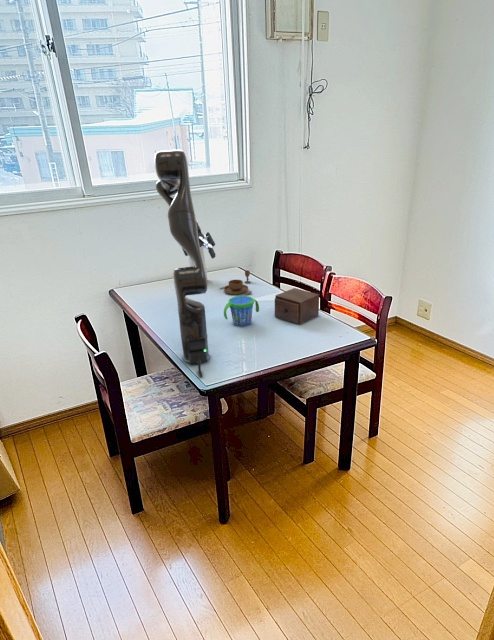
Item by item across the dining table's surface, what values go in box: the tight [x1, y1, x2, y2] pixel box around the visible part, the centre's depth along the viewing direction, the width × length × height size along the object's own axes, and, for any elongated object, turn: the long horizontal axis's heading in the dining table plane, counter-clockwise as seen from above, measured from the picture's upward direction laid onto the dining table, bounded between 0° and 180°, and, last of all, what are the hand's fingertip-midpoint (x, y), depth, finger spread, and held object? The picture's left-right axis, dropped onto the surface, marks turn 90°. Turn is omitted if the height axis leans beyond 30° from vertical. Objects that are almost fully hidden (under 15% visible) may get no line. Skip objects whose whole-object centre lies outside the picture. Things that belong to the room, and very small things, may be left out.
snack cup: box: [223, 295, 260, 327], centre depth 206 cm, size 16×10×10 cm
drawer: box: [274, 298, 299, 324], centre depth 210 cm, size 13×12×8 cm
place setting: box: [220, 270, 252, 296], centre depth 244 cm, size 18×20×6 cm
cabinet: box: [274, 287, 320, 325], centre depth 211 cm, size 13×14×10 cm
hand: (205, 260), depth 205 cm, fingers open, 8 cm apart
